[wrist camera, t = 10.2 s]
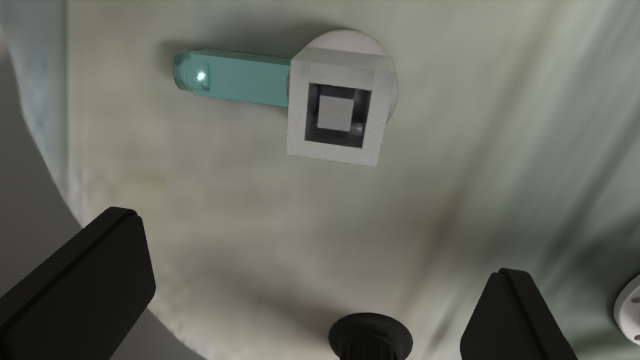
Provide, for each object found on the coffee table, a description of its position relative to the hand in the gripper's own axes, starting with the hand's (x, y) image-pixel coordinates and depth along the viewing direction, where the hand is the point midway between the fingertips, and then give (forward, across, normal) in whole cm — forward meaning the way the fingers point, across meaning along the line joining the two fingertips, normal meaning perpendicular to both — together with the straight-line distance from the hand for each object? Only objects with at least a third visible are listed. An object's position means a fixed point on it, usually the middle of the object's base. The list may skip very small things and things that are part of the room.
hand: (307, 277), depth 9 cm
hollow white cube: (+18, 0, 0) cm, 18 cm away
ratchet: (+20, +5, 0) cm, 21 cm away
